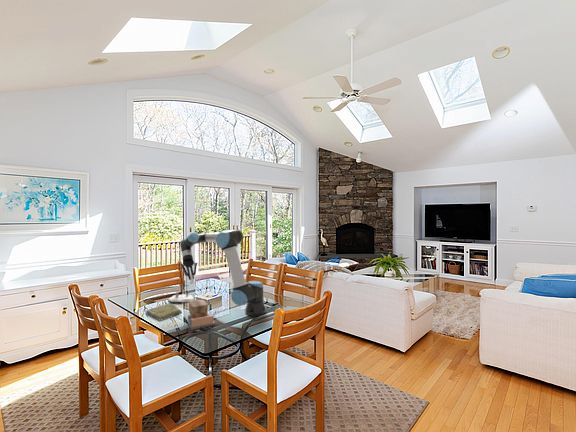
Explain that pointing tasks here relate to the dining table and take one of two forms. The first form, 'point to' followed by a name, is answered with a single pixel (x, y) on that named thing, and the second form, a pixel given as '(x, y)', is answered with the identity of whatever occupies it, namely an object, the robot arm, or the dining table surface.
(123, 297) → the dining table surface
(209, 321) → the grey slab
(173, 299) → the figurine
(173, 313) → the decorative tile
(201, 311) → the oak block
